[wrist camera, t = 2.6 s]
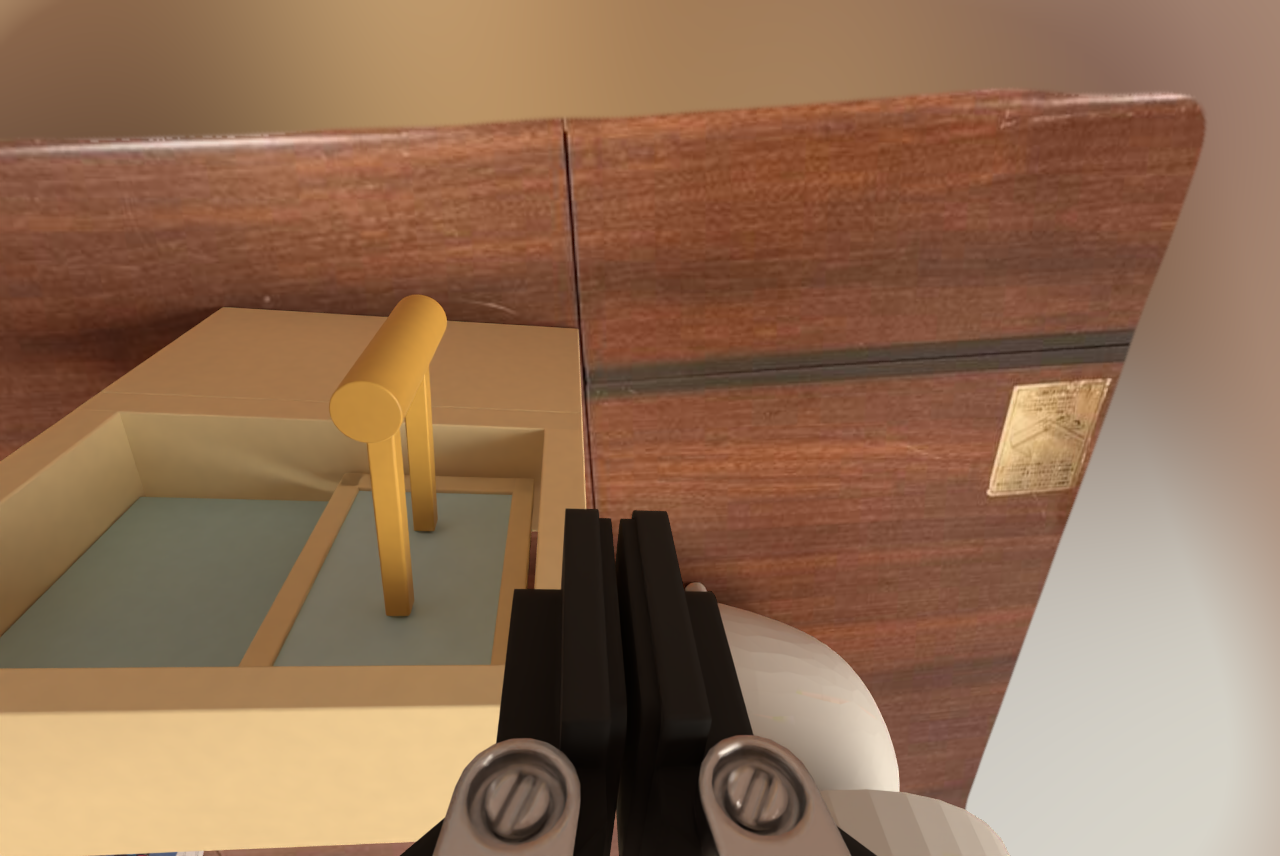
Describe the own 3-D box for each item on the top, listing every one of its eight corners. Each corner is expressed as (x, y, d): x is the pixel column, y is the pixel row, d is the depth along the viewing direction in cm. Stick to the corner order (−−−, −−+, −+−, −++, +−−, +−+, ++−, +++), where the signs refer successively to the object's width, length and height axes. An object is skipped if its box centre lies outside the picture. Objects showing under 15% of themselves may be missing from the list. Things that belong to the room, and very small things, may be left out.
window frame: (222, 306, 33) (-380, 721, 12) (578, 328, 35) (595, 705, 14) (241, 395, 35) (-235, 871, 14) (573, 409, 38) (582, 836, 17)
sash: (316, 268, 21) (119, 425, 12) (540, 283, 22) (521, 440, 13) (346, 491, 25) (217, 738, 16) (534, 496, 26) (516, 732, 17)
